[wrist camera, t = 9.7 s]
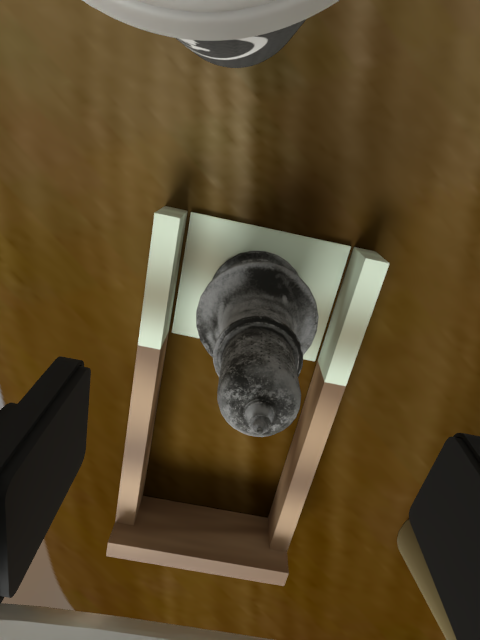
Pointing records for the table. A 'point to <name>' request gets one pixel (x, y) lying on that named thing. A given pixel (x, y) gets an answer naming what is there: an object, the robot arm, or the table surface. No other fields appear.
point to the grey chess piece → (257, 339)
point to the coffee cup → (219, 24)
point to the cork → (423, 577)
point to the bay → (197, 272)
